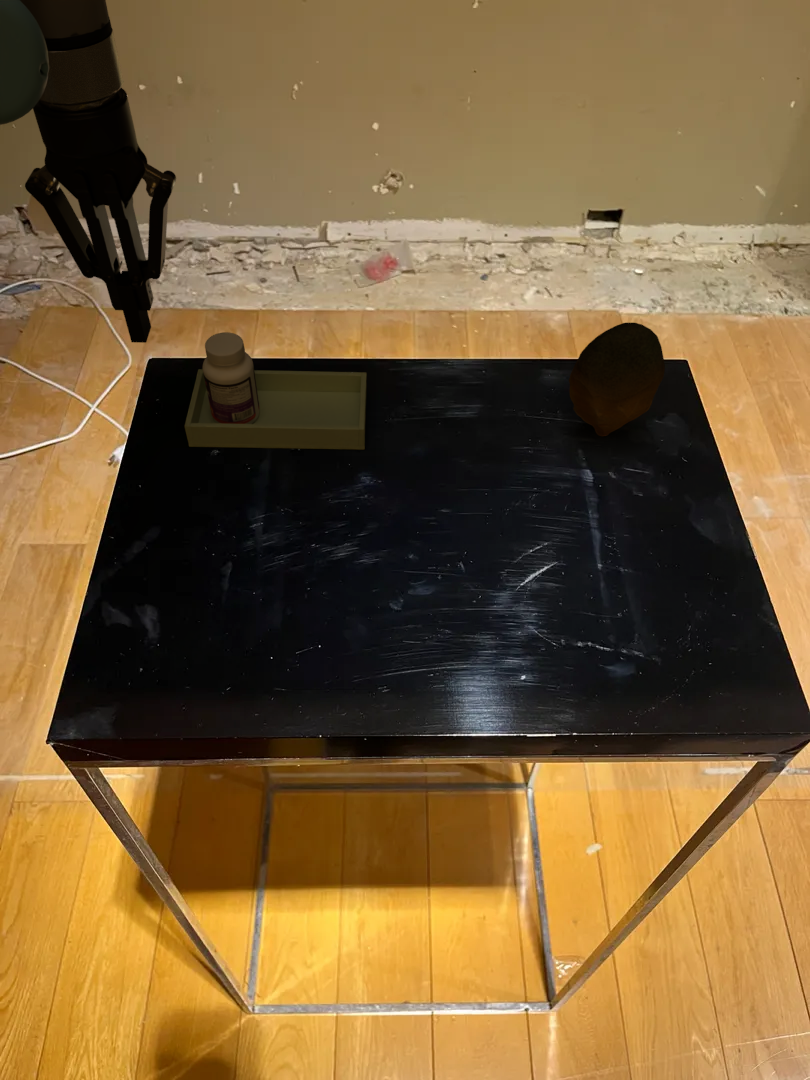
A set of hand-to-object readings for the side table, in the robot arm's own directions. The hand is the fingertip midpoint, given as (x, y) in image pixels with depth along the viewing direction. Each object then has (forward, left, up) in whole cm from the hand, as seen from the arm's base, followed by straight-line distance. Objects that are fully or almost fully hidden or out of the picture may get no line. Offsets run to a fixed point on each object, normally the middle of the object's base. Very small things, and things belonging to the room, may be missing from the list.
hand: (141, 334), depth 85 cm
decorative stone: (+49, -2, -11) cm, 51 cm away
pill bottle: (+8, 0, -11) cm, 14 cm away
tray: (+13, 0, -11) cm, 17 cm away
